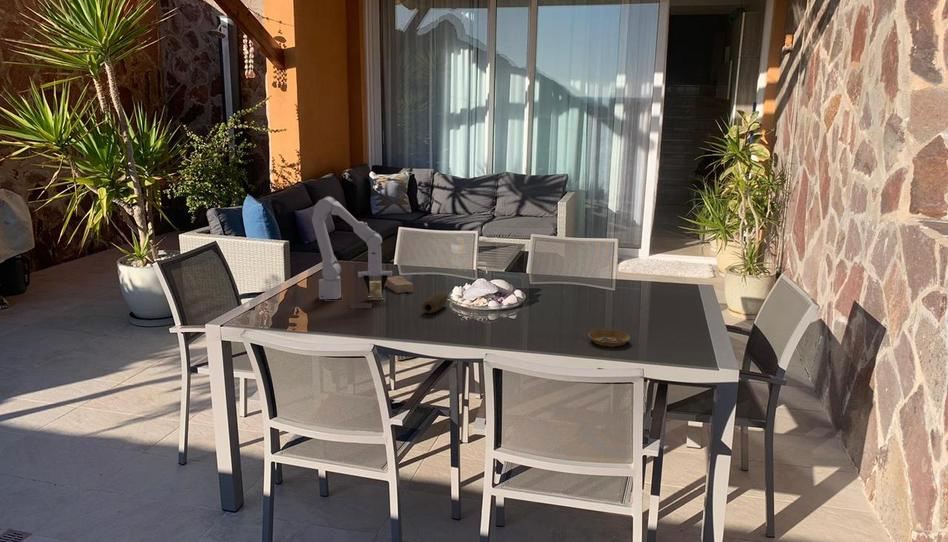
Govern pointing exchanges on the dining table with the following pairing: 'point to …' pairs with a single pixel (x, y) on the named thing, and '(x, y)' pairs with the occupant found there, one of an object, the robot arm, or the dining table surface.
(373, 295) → the birch block
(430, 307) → the brown hollow tube
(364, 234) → the robot arm
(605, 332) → the plant saucer
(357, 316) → the dining table surface
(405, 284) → the brick
